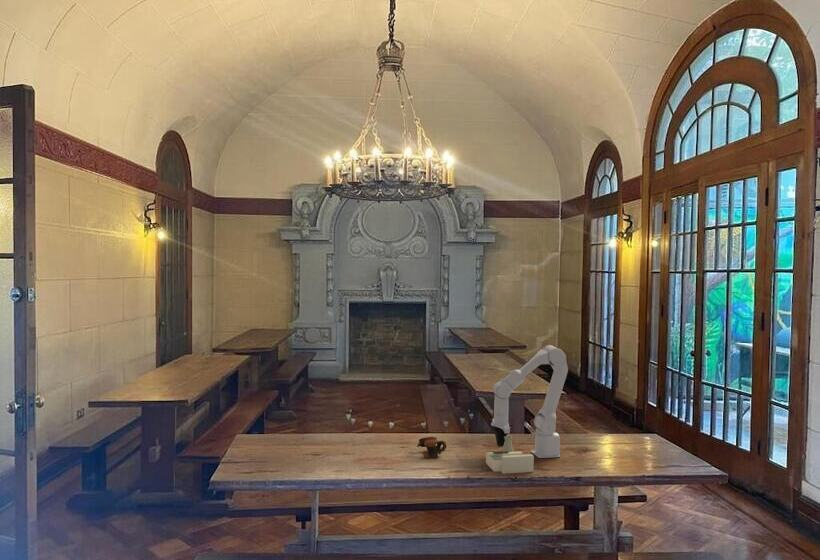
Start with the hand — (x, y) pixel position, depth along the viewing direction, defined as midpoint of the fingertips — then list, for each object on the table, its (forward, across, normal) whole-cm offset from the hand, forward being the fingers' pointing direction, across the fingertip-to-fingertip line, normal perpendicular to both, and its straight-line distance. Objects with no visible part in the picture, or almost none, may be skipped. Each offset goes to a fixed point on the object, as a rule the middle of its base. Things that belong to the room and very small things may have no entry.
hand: (500, 445), depth 233 cm
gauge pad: (+4, +12, -2) cm, 13 cm away
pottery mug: (+4, -6, -27) cm, 28 cm away
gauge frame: (+4, +13, -1) cm, 14 cm away
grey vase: (+4, +8, 0) cm, 9 cm away
